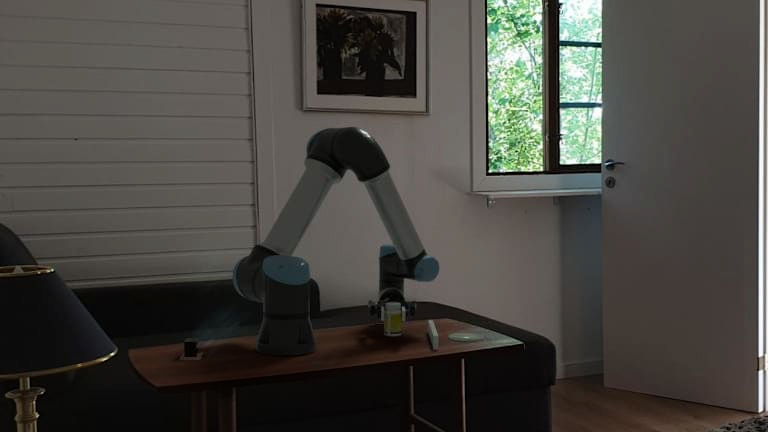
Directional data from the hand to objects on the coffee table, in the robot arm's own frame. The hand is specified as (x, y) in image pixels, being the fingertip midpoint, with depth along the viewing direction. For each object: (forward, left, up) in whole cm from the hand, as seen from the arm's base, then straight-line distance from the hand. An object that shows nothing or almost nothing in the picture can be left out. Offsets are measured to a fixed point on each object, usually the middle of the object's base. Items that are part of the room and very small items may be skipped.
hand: (393, 315), depth 205 cm
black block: (-49, -11, -9) cm, 52 cm away
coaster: (+20, +11, -8) cm, 24 cm away
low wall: (+11, +8, -8) cm, 16 cm away
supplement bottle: (0, +5, -6) cm, 8 cm away
